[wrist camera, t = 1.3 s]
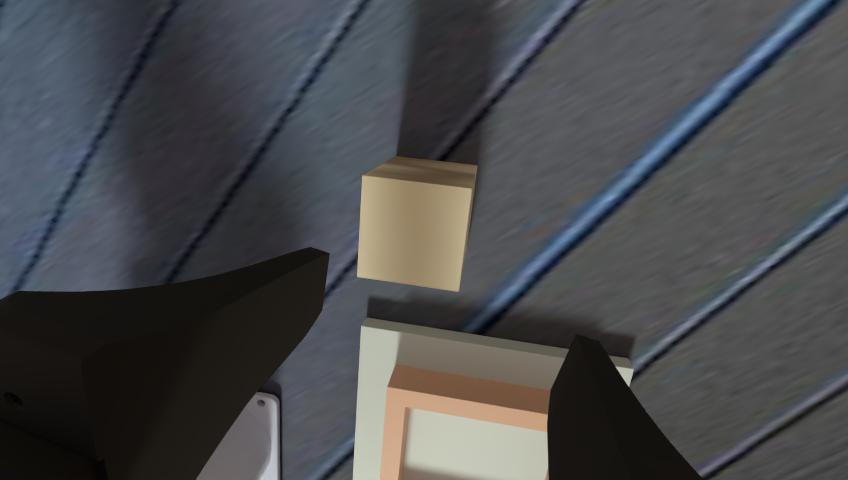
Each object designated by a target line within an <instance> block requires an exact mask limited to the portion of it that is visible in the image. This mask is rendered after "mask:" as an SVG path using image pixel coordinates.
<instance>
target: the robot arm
mask: <svg viewBox="0 0 848 480" xmlns="http://www.w3.org/2000/svg"><path fill="white" fill-rule="evenodd" d="M329 254H330V253H327V252H324V251H321V250H318V249H315V248H312V247H309V248H305V249H301V250H298V251H295V252H291V253H288V254H285V255H282V256H279V257H276V258H273V259H270V260H267V261H264V262H261V263H257V264H254V265H251V266H248V267H244V268H240V269H237V270H233V271H230V272H226V273H222V274H219V275H215V276H210V277H206V278H201V279H196V280H191V281H186V282H180V283H174V284H167V285H159V286H151V287H143V288H135V289H123V290H108V291H85V292H40V291H18V292H15V293H13V294H11V295H9V296H7V297H5V298H3V299H1V300H0V480H280V408H279V399H278V398H277V397H276V396H275V395H272V394H267V393H262V392H257V391H258V390H259V389H260V388H261V387H262V386H263V384H264V383H265V382H266V381H267V380H268V379H269V378H270V376H271V375H272V374H273V373H274V372H275V371H276V370H277V368H278V367H279V366H280V365H281V364H282V363H283V362H284V360H285V359H286V358H287V357H288V356H289V355H290V354H291V352H292V351H293V350H294V349H295V348H296V347H297V345H298V344H299V343H300V342H301V341H302V340H303V338H304V337H305V336H306V334H307V333H308V331H309V330H310V328H311V327H312V325H313V324H314V322H315V321H316V319H317V318H318V316H319V314H320V313H321V311H322V307H323V299H324V292H325V284H326V277H327V269H328V262H329ZM261 400H263V401H264V402H265V403H263V402H262V401H261ZM547 442H548V473H549V480H703V478H702V477H701V476H700V475H699V474H698V473H697V472H696V471H695V470H694V469H693V468H692V467H691V466H690V464H689V463H688V462H687V461H686V460H685V459H684V458H683V457H682V455H681V454H680V453H679V452H678V451H677V450H676V449H675V447H674V446H673V445H672V444H671V443H670V442H669V440H668V439H667V438H666V437H665V436H664V434H663V433H662V432H661V430H660V429H659V428H658V427H657V425H656V424H655V423H654V421H653V420H652V419H651V417H650V416H649V415H648V413H647V412H646V411H645V409H644V408H643V407H642V405H641V404H640V402H639V401H638V400H637V398H636V397H635V395H634V394H633V392H632V391H631V389H630V388H629V386H628V385H627V383H626V382H625V380H624V379H623V377H622V376H621V374H620V373H619V371H618V370H617V368H616V366H615V365H614V363H613V362H612V360H611V359H610V357H609V356H608V354H607V352H606V351H605V349H604V348H603V346H602V345H601V344H600V342H599V341H596V340H593V339H590V338H587V337H584V336H581V335H577V334H576V336H575V338H574V340H573V342H572V344H571V347H570V349H569V351H568V353H567V355H566V357H565V360H564V362H563V364H562V366H561V368H560V370H559V373H558V375H557V377H556V379H555V381H554V383H553V386H552V388H551V391H550V399H549V408H548V419H547Z"/></svg>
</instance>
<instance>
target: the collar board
mask: <svg viewBox="0 0 848 480" xmlns="http://www.w3.org/2000/svg"><path fill="white" fill-rule="evenodd" d="M568 351H569V349H565V348H559V347H552V346H546V345H539V344H533V343H527V342H520V341H514V340H507V339H501V338H495V337H488V336H482V335H475V334H469V333H463V332H456V331H450V330H443V329H437V328H431V327H424V326H418V325H411V324H405V323H399V322H392V321H386V320H379V319H373V318H367V317H366V319H365V321H364V322H363V324H362V326H361V341H360V359H359V377H358V395H357V413H356V431H355V449H354V467H353V480H549V473H548V442H547V419H548V408H549V399H550V391H551V388H552V386H553V383H554V381H555V379H556V377H557V375H558V373H559V370H560V368H561V366H562V364H563V362H564V360H565V357H566V355H567V353H568ZM608 356H609V357H610V359H611V360H612V362H613V363H614V365H615V366H616V368H617V370H618V371H619V373H620V374H621V376H622V377H623V379H624V380H625V382H626V383H627V385H628V386H629V385H630V381H631V378H632V374H633V371H634V369H633V367H632V365H631V363H630V361H629V359H628V358H623V357H616V356H610V355H608Z"/></svg>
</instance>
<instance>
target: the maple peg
mask: <svg viewBox="0 0 848 480" xmlns="http://www.w3.org/2000/svg"><path fill="white" fill-rule="evenodd" d="M477 167H478V165H469V164H460V163H452V162H443V161H434V160H426V159H417V158H408V157H400V156H395V157H394V158H392V159H390V160H388V161H387V162H385V163H383V164H381V165H380V166H378V167H376V168H374V169H373V170H371V171H369V172H367V173H366V174H364V175H362V193H361V213H360V232H359V252H358V271H357V277H363V278H369V279H376V280H383V281H390V282H397V283H403V284H410V285H417V286H424V287H431V288H437V289H444V290H451V291H458V292H459V288H460V282H461V277H462V271H463V266H464V260H465V254H466V249H467V243H468V235H469V228H470V220H471V212H472V205H473V197H474V189H475V182H476V174H477Z"/></svg>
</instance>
